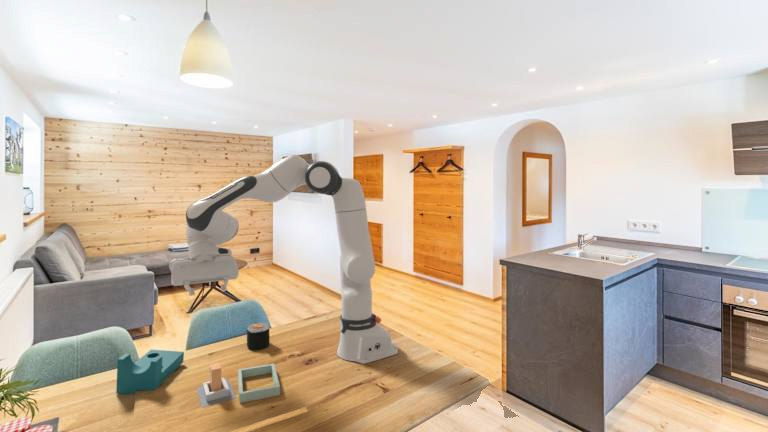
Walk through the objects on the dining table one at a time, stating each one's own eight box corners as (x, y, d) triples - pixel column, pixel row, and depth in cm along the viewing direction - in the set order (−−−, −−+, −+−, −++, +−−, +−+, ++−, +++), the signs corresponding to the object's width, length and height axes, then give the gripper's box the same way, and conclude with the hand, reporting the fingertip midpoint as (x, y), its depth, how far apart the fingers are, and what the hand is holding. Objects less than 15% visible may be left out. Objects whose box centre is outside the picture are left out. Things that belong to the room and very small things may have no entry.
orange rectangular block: (219, 388, 113) (218, 362, 112) (221, 394, 110) (220, 368, 109) (210, 390, 112) (209, 364, 111) (212, 397, 109) (211, 370, 108)
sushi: (249, 352, 139) (249, 331, 138) (245, 343, 146) (244, 323, 146) (271, 347, 143) (271, 327, 143) (266, 339, 150) (266, 319, 150)
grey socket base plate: (228, 382, 118) (228, 372, 118) (236, 401, 108) (236, 391, 108) (196, 390, 114) (196, 380, 113) (201, 411, 104) (201, 400, 103)
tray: (274, 373, 124) (274, 363, 124) (280, 398, 110) (279, 386, 110) (238, 380, 120) (237, 369, 119) (239, 406, 106) (239, 394, 106)
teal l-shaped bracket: (154, 395, 112) (156, 361, 111) (116, 393, 111) (117, 359, 110) (183, 365, 130) (184, 336, 129) (150, 363, 129) (151, 334, 128)
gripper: (168, 254, 122) (171, 292, 114) (235, 249, 132) (242, 283, 125) (168, 265, 126) (171, 302, 118) (233, 259, 137) (239, 292, 129)
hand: (208, 292), depth 122 cm, fingers open, 8 cm apart
